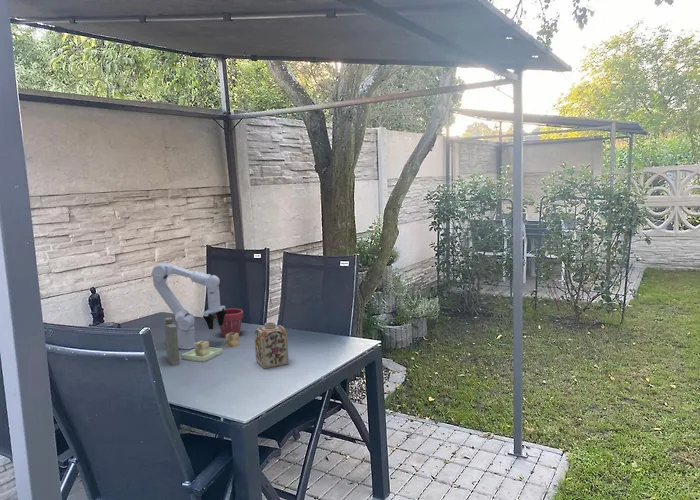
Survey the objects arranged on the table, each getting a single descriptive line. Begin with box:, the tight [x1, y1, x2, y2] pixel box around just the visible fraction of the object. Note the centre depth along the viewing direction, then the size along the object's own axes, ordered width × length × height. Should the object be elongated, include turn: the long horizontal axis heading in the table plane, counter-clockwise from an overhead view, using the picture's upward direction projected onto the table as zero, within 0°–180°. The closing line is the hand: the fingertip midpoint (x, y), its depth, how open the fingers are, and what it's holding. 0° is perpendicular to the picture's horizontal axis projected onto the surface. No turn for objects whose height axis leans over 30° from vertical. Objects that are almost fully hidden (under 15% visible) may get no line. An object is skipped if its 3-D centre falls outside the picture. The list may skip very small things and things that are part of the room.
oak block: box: [225, 332, 240, 348], centre depth 257 cm, size 4×4×6 cm
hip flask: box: [163, 317, 180, 366], centre depth 237 cm, size 16×4×20 cm, turn 29°
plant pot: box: [215, 308, 244, 338], centre depth 276 cm, size 14×14×13 cm
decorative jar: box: [253, 322, 289, 369], centre depth 228 cm, size 12×12×18 cm
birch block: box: [194, 340, 210, 357], centre depth 242 cm, size 4×4×6 cm
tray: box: [181, 346, 224, 363], centre depth 242 cm, size 13×13×2 cm
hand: (215, 327), depth 257 cm, fingers open, 7 cm apart
